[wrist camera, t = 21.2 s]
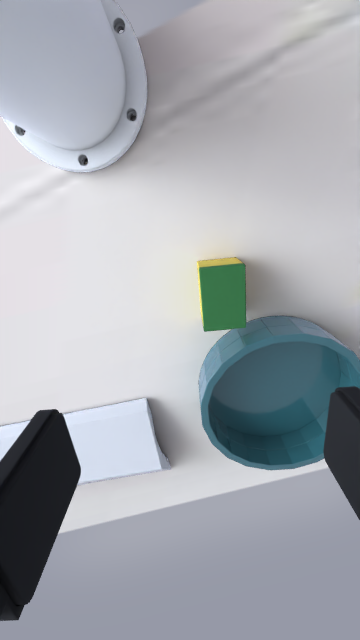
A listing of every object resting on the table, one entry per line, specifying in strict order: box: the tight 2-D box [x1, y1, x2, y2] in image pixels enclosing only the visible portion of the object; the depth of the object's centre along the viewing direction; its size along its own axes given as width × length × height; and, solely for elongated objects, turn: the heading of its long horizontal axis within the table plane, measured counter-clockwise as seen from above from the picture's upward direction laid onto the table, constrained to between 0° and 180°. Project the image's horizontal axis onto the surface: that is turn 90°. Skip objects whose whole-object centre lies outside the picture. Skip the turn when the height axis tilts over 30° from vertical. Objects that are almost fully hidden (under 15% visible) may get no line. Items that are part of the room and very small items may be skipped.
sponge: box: [197, 257, 246, 331], centre depth 26 cm, size 6×4×4 cm, turn 6°
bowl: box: [199, 316, 360, 470], centre depth 30 cm, size 18×18×5 cm
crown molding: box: [0, 398, 171, 485], centre depth 35 cm, size 29×12×4 cm, turn 104°
